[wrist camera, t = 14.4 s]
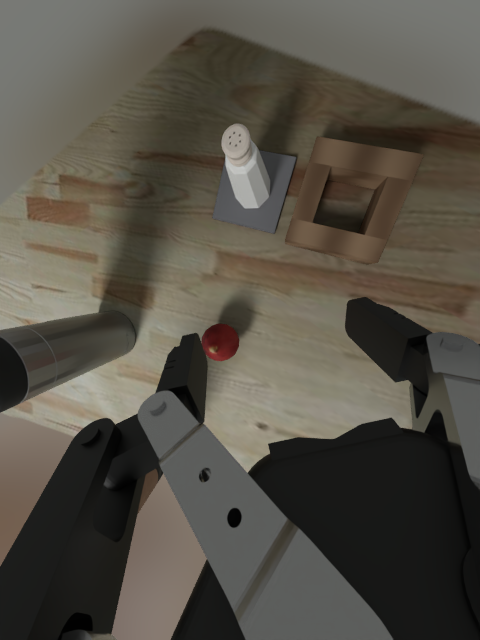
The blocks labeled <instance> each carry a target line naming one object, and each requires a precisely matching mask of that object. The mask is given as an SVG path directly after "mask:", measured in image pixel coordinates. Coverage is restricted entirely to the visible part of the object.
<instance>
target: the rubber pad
mask: <svg viewBox="0 0 480 640" xmlns="http://www.w3.org/2000/svg"><path fill="white" fill-rule="evenodd" d="M259 152H260V155H261V157H262V160H263V163H264V165H265V168H266V170H267V173H268V176H269V178H270V194H269V198H268V199H267V200H266V201H265V202H264V203H263V204H262V205H261V206H260V207H259V208H244V207H243V206H242V205H241V204H240V203H239V201H238V200H237V199H236V198H235V195H234V191H233V188H232V185H231V182H230V179H229V176H228V172H227V169H226V165H225V162H224V167H223V171H222V176H221V181H220V185H219V190H218V194H217V199H216V204H215V208H214V213H213V217H212V218H213V219H216V220H220V221H225V222H229V223H233V224H237V225H241V226H245V227H249V228H253V229H257V230H261V231H265V232H269V233H273V234H275V230H276V227H277V223H278V220H279V216H280V213H281V210H282V206H283V203H284V199H285V196H286V193H287V189H288V186H289V182H290V179H291V175H292V172H293V169H294V165H295V162H296V157H293V156H288V155H283V154H277V153H272V152H266V151H261V150H259ZM225 159H226V157H225Z"/></svg>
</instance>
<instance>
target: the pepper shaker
mask: <svg viewBox="0 0 480 640" xmlns="http://www.w3.org/2000/svg"><path fill="white" fill-rule="evenodd" d="M222 149H223V151H224V153H225V154H226V159H225V165H226V169H227V172H228V176H229V179H230V182H231V185H232V188H233V191H234V195H235V198H236V199H237V200H238V201H239V203H240V204H241V205H242V206H243V207H244V208H259V207H260V206H261V205H262V204H263V203H264V202H265V201H266V200H267V199H268V198H269V194H270V178H269V176H268V173H267V170H266V168H265V165H264V163H263V160H262V157H261V155H260V152H259V150H258V148H257V146H256V145H255V144H254V143H253V142H252V140H251V139H250V133H249V131H248V129H247V128H246V127H245V126H244V125H242V124H233V125H231V126H230V127H228V128H227V129H226V131H225V132H224V134H223V137H222Z"/></svg>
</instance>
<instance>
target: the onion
mask: <svg viewBox="0 0 480 640" xmlns="http://www.w3.org/2000/svg"><path fill="white" fill-rule="evenodd" d="M202 346H203V349H204V352H205V354H206V355H207V356H208V357H209V358H211V359H213V360H216V361H224V360H227V359H229V358H231V357H232V356H233V355H235V353H236V351H237V349H238V347H239V338H238V335H237V333H236V332H235V330H234V329H233V328H232V327H230V326H229V325H227V324H216V325H213V326H211V327H210V328H208V329H207V330H206V331H205V333H204V335H203V337H202Z"/></svg>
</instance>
